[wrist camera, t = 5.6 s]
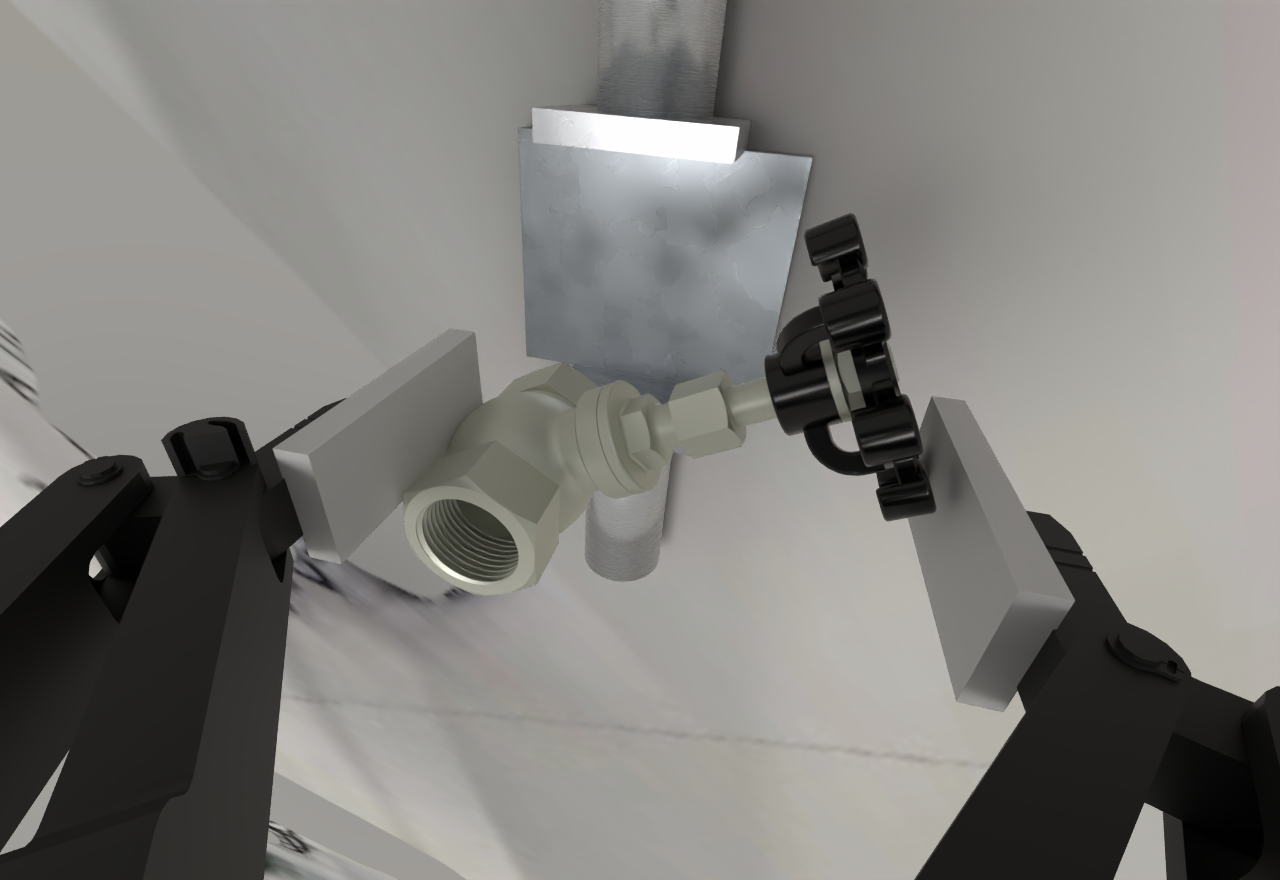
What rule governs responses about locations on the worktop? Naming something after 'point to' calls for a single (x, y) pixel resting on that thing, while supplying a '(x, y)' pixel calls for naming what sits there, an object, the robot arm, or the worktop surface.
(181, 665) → the robot arm
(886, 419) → the valve
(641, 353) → the pipe run
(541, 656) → the worktop surface
